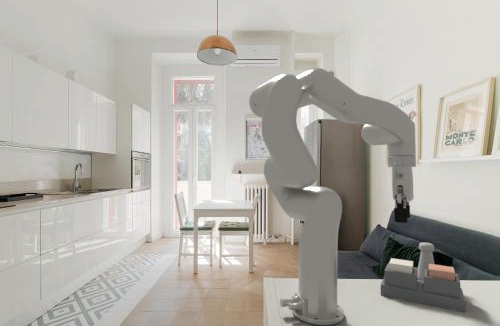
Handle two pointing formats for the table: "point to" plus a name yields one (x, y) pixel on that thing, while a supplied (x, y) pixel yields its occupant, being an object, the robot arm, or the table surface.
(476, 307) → the table surface
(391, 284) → the key panel
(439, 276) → the terracotta key
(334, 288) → the robot arm
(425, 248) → the salt shaker
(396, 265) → the ivory key
